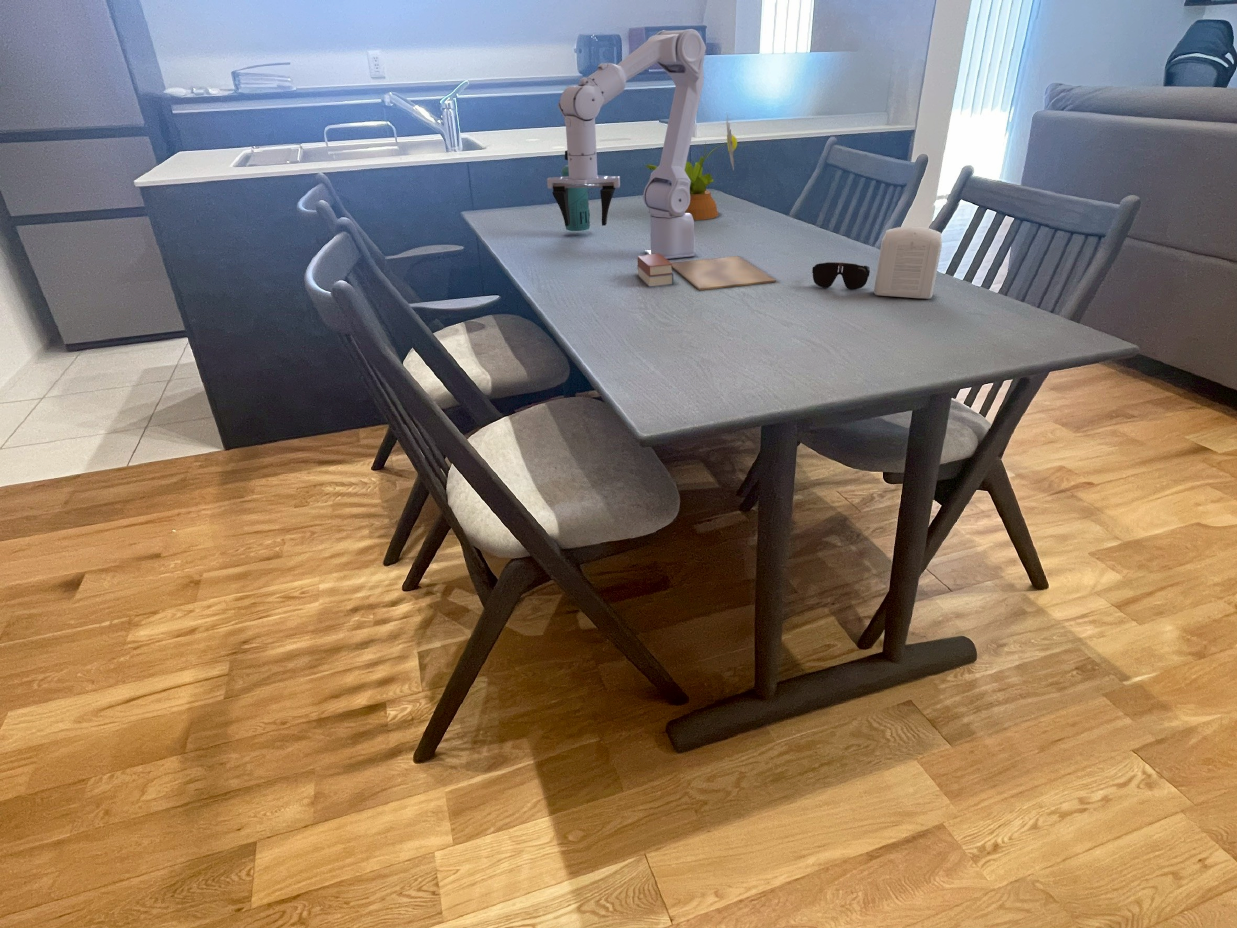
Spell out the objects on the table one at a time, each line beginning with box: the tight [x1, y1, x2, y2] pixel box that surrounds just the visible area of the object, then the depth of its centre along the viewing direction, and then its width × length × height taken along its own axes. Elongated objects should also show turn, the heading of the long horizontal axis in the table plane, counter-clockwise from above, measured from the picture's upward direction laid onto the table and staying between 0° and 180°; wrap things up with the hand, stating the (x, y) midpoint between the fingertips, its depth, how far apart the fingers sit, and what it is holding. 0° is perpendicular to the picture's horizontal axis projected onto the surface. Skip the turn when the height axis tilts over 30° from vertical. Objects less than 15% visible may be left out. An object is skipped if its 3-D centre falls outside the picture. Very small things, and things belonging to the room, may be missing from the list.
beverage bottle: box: [560, 149, 591, 232], centre depth 183 cm, size 6×7×20 cm
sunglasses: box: [811, 261, 871, 291], centre depth 145 cm, size 10×12×5 cm
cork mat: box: [671, 255, 777, 291], centre depth 153 cm, size 16×20×1 cm
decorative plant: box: [645, 114, 738, 221], centre depth 199 cm, size 27×24×25 cm
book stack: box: [636, 254, 674, 288], centre depth 150 cm, size 5×9×4 cm, turn 14°
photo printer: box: [873, 225, 943, 300], centre depth 133 cm, size 10×4×12 cm, turn 72°
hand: (585, 224), depth 153 cm, fingers open, 7 cm apart
